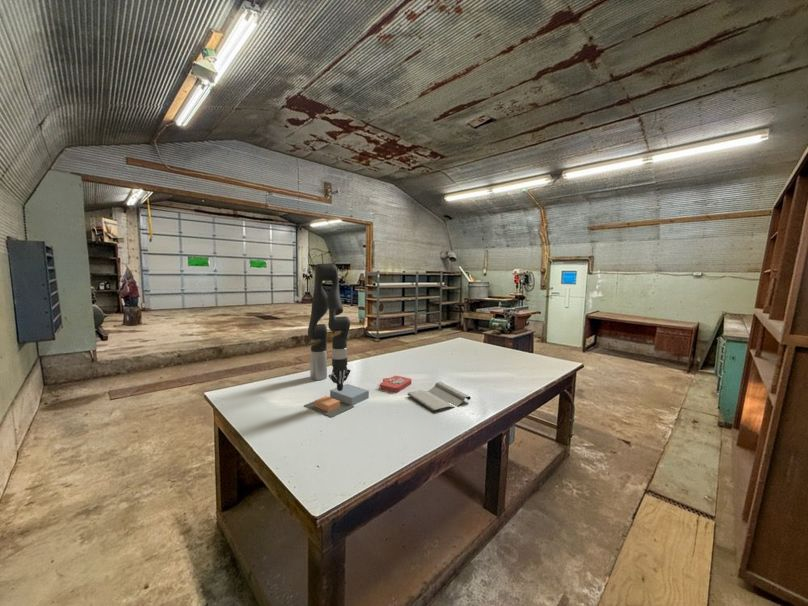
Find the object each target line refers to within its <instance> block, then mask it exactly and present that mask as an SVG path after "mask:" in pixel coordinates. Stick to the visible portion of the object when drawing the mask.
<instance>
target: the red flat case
mask: <svg viewBox="0 0 808 606" xmlns="http://www.w3.org/2000/svg"><path fill="white" fill-rule="evenodd" d="M411 385H412V378H410V377H404V376H400V375H393V376H391V377H387V378H382V382H380V383H379V389H380V390H381V391H387V392H389V393H395V394H397V393H400V392H401V391H403V390H405V389H406V388H408V387H409V386H411Z"/></svg>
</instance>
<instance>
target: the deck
mask: <svg viewBox="0 0 808 606" xmlns="http://www.w3.org/2000/svg"><path fill="white" fill-rule="evenodd" d="M369 391H370V390H368V389H365V388H361V387H360V386H355V385H353V384H349V383H345V384H343V390H341V391H338V390H337V387H335V388H332V389H330V390H329V397H331V398H333V399H336V400H339V401H341V402H344V403H347V404H349V405H352V406H355V405H356V404H359V403H361V402H363V401H365V400H368V399H369V396H370V395H369Z"/></svg>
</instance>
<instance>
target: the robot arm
mask: <svg viewBox="0 0 808 606" xmlns="http://www.w3.org/2000/svg"><path fill="white" fill-rule="evenodd" d="M338 271H339V270H338V268H337V265H336V264H334V263H317V264H316V266H315V271H314V287H313V293H312V294H313V295H312V302H311V313H310V319H309V322H308V328H307V329H308V330H307V337H308V339H309V340H312V341H315V340H319V341H318V342H316V343H314V344H312V345H311V346H310V363H309V364H310V365H309V366H310V369H309V370H310V374H309V376H310V378H311V380H312V381H313V380H314V381H322V380H326V379H328V378H329V379H330V381H332V383H333V384H336V388H337V390H338V391H341V390H343V385H344V382H347V379H348V377H349V376H350V373H351V369H348V367H347V366H348V347H347V343H348V342H347V341H348V334H349V330H350V327H351V320H350V319H349V317H348V316H339V315H341V314H343V312H344V306H343V303H342V298H341V294H340V281H339V272H338ZM322 282H331V283H332V284H331V288H330V290H329V292H328V294H327V292H326V290H325V289H324V287H323V285H322ZM327 312H328V313H329V314H328V328H327V325H326V324H325V323H318V322H320V321H321V319H322V318H323V317H324V316H325V315H326V314H327ZM328 329H329V330H330V331H331V332H340V333H339V334H337V335H334V336H333V337H332V338H331V341H332V343H331V347H332V348H331V366H332V370H331V372H332V373H331V374H328V368H327V367H328V363H327V362H328V359H327V354H328V353H327V347H328V345H327V344H328V343H327V341H328V339H327V338H328ZM327 374H328V375H327ZM327 377H328V378H327Z"/></svg>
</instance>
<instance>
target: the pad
mask: <svg viewBox="0 0 808 606" xmlns="http://www.w3.org/2000/svg"><path fill="white" fill-rule="evenodd" d="M303 406H304V407H306V408H308V409H311V410H313V411H315V412H318V413H320V414H322V415H325V416H327V417H329V418H334V417H336V416H338V415H341V414H343V413H345V412H346V411H349V410H351V409H353V408H355V405H349V404H347V403H344V402H341V401H340V407H339V408H336V409H334V410H332V411H330V412H327V411H325V410H322V409H320V408H318V407H315V400H314V401H312V402H309V403H306V404H303Z"/></svg>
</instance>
